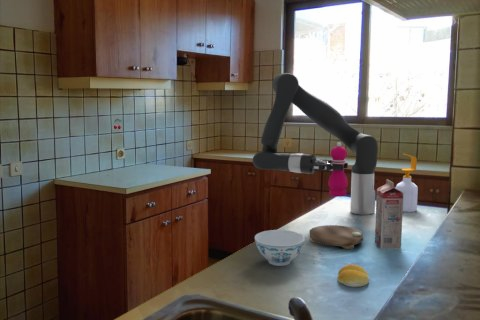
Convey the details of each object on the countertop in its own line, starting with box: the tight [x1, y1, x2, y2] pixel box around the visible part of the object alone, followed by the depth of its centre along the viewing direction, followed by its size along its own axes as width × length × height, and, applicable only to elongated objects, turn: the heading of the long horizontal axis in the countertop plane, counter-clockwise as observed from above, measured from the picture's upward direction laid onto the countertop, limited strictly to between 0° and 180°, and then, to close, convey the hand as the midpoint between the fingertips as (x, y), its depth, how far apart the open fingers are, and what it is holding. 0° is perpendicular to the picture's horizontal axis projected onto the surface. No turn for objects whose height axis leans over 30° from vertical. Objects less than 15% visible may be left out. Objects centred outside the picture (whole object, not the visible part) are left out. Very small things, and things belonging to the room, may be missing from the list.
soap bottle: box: [395, 153, 419, 213], centre depth 196 cm, size 9×9×25 cm
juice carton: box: [374, 178, 404, 250], centre depth 151 cm, size 7×7×22 cm
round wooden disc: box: [308, 224, 364, 250], centre depth 157 cm, size 18×18×4 cm
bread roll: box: [337, 264, 370, 288], centre depth 124 cm, size 8×9×4 cm
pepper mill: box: [327, 141, 349, 198], centre depth 171 cm, size 7×7×20 cm
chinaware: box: [254, 229, 306, 267], centre depth 138 cm, size 15×15×8 cm
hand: (345, 166), depth 170 cm, fingers closed on pepper mill, 5 cm apart
